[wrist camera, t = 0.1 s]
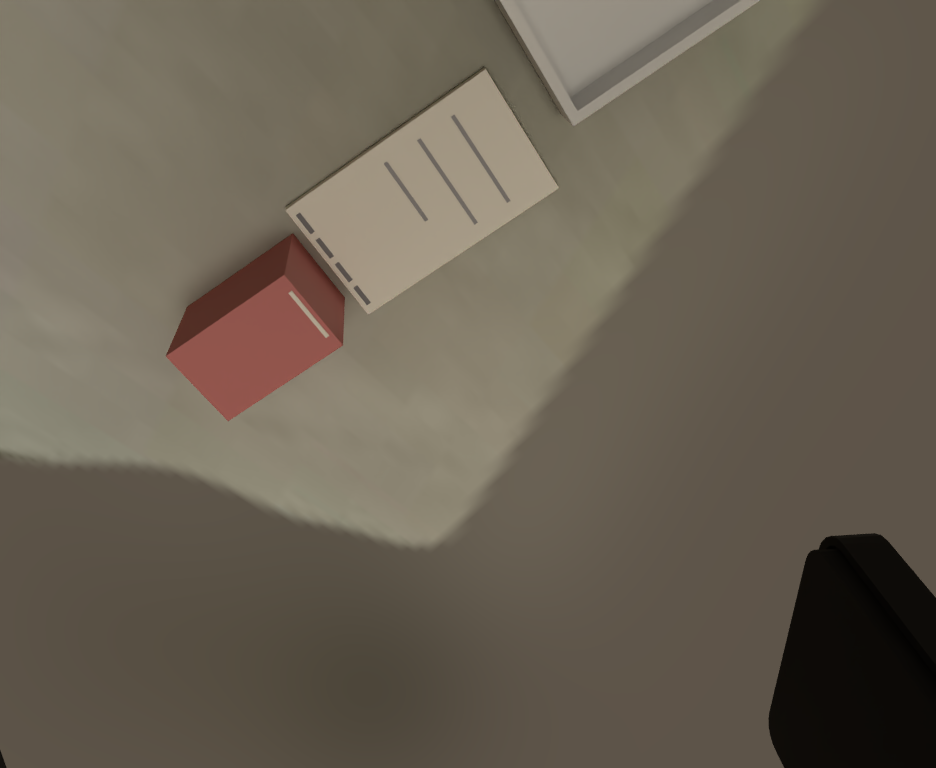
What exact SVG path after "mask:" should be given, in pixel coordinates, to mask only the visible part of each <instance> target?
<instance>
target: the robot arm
mask: <svg viewBox="0 0 936 768" xmlns="http://www.w3.org/2000/svg"><path fill="white" fill-rule="evenodd" d="M769 730H770V736H771V739H772V743H773V745H774V748H775V750H776V752H777V754H778V756H779V758H780V760H781V762H782V764H783V766H784V768H936V598H935V596H934V595H933V594H932V593H931V592H930V591H929V589H928V588H927V587H926V586H925V585H924V583H923V582H922V581H921V580H920V579H919V577H918V576H917V575H916V574H915V573H914V571H913V570H912V569H911V568H910V567H909V566H908V564H907V563H906V562H905V561H904V560H903V558H902V557H901V556H900V555H899V554H898V553H897V551H896V550H895V549H894V548H893V547H892V545H891V544H890V543H889V542H888V541H887V540H886V539H885V538H884V537H883V536H881V535H878V534H875V533H874V534H857V535H843V536H830V537H826V538H825V539H824V540H823V541H822V542H821V545H820V547H819V550H813V551H811V552H810V553H809V554H808V556H807V558H806V561H805V565H804V570H803V574H802V578H801V582H800V586H799V590H798V595H797V599H796V603H795V607H794V611H793V616H792V620H791V624H790V628H789V632H788V637H787V641H786V645H785V649H784V653H783V658H782V662H781V666H780V670H779V674H778V679H777V683H776V687H775V691H774V695H773V700H772V704H771V708H770V712H769ZM0 768H6V765H5V763H4V759H3V757H2V754H1V751H0Z"/></svg>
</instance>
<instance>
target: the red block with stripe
mask: <svg viewBox="0 0 936 768" xmlns="http://www.w3.org/2000/svg"><path fill="white" fill-rule="evenodd" d="M344 303H345V297H344V296H343V295H342V294H341V293H340V291H339V290H338V289H337V288H336V286H335V285H334V284H333V283H332V281H331V280H330V279H329V278H328V276H327V275H326V274H325V273H324V271H323V270H322V269H321V268H320V266H319V265H318V264H317V263H316V261H315V260H314V259H313V258H312V256H311V255H310V254H309V253H308V251H307V250H306V249H305V248H304V246H303V245H302V244H301V243H300V242H299V240H298V239H297V238H296V237H295V235H294V234H291V235H290V236H288V237H287V238H285V239H284V240H282V241H281V242H280V243H278V244H277V245H275V246H274V247H272V248H271V249H270V250H268V251H267V252H265V253H264V254H262V255H261V256H260V257H258V258H257V259H255V260H254V261H252V262H251V263H249V264H248V265H247V266H245V267H244V268H242V269H241V270H239V271H238V272H237V273H235V274H234V275H232V276H231V277H229V278H228V279H226V280H225V281H224V282H222V283H221V284H219V285H218V286H216V287H215V288H214V289H212V290H211V291H209V292H208V293H206V294H205V295H204V296H202V297H201V298H199V299H198V300H196V301H195V302H193V303H192V304H191V305H189V306H188V307H187V309H186V311H185V313H184V315H183V318H182V320H181V322H180V325H179V327H178V329H177V332H176V334H175V336H174V339H173V341H172V343H171V345H170V348H169V350H168V352H167V355H166V357H167V358H168V359H169V360H170V361H171V362H172V363H173V364H174V365H175V366H176V367H177V368H178V370H179V371H180V372H181V373H182V374H183V375H184V376H185V377H186V378H187V379H188V380H189V381H190V382H191V383H192V384H193V385H194V386H195V387H196V388H197V389H198V390H199V391H200V392H201V393H202V395H203V396H204V397H205V398H206V399H207V400H208V401H209V402H210V403H211V404H212V405H213V406H214V407H215V408H216V409H217V410H218V411H219V412H220V413H221V414H222V415H223V416H224V417H225V418H226V420H227V421H229V420H230V419H232V418H233V417H235V416H237V415H238V414H240V413H241V412H243V411H244V410H246V409H247V408H249V407H250V406H252V405H253V404H255V403H256V402H258V401H259V400H261V399H262V398H264V397H265V396H267V395H268V394H270V393H271V392H273V391H274V390H276V389H277V388H279V387H280V386H282V385H284V384H285V383H287V382H288V381H290V380H291V379H293V378H294V377H296V376H297V375H299V374H300V373H302V372H303V371H305V370H306V369H308V368H309V367H311V366H312V365H314V364H315V363H317V362H318V361H320V360H321V359H323V358H324V357H326V356H327V355H329V354H331V353H332V352H334V351H335V350H337V349H338V348H340V347H341V346H343V329H344Z"/></svg>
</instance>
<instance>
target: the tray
mask: <svg viewBox="0 0 936 768" xmlns="http://www.w3.org/2000/svg"><path fill="white" fill-rule="evenodd" d="M494 1H495V2H496V4H497V6H498V7H499V9H500V11H501V13H502V14H503V16H504V18H505V19H506V21H507V23H508V24H509V26H510V28H511V30H512V31H513V33H514V35H515V36H516V38H517V40H518V41H519V43H520V45H521V47H522V48H523V50H524V52H525V53H526V55H527V57H528V59H529V60H530V62H531V64H532V65H533V67H534V69H535V70H536V72H537V74H538V76H539V77H540V79H541V81H542V82H543V84H544V86H545V87H546V89H547V91H548V93H549V94H550V96H551V98H552V99H553V101H554V103H555V105H556V106H557V108H558V110H559V111H560V113H561V114H562V115H563V116H564V117H565V118H566V119H567V120H568V121H569V122H570V123H571V124H572V125H573V126H575V125H576V124H578V123H579V122H581V121H582V120H584V119H585V118H587V117H588V116H590V115H591V114H593V113H594V112H596V111H597V110H599V109H600V108H602V107H603V106H605V105H606V104H607V103H609V102H610V101H612V100H613V99H615V98H616V97H618V96H619V95H621V94H622V93H624V92H625V91H627V90H628V89H630V88H631V87H633V86H634V85H636V84H637V83H639V82H640V81H642V80H643V79H644V78H646V77H647V76H649V75H650V74H652V73H653V72H655V71H656V70H658V69H659V68H661V67H662V66H664V65H665V64H667V63H668V62H670V61H671V60H673V59H674V58H676V57H677V56H679V55H680V54H681V53H683V52H684V51H686V50H687V49H689V48H690V47H692V46H693V45H695V44H696V43H698V42H699V41H701V40H702V39H704V38H705V37H707V36H708V35H710V34H711V33H713V32H714V31H716V30H717V29H718V28H720V27H721V26H723V25H724V24H726V23H727V22H729V21H730V20H732V19H733V18H735V17H736V16H738V15H739V14H741V13H742V12H744V11H745V10H747V9H748V8H750V7H751V6H753V5H754V4H755V3H757V2H758V1H760V0H494Z"/></svg>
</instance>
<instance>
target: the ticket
mask: <svg viewBox="0 0 936 768" xmlns="http://www.w3.org/2000/svg"><path fill="white" fill-rule="evenodd" d="M558 188H559V187H558V186H557V184H556V183H555V181H554V179H553V178H552V176H551V174H550V173H549V171H548V170H547V168H546V166H545V165H544V163H543V161H542V160H541V158H540V157H539V155H538V153H537V152H536V150H535V148H534V147H533V145H532V144H531V142H530V140H529V139H528V137H527V135H526V134H525V132H524V131H523V129H522V127H521V126H520V124H519V122H518V121H517V119H516V118H515V116H514V114H513V113H512V111H511V109H510V108H509V106H508V105H507V103H506V101H505V100H504V98H503V96H502V95H501V93H500V92H499V90H498V88H497V87H496V85H495V83H494V82H493V80H492V79H491V77H490V75H489V74H488V72H487V70H486V69H485V68H482V69H481V70H480V71H478V72H477V73H475V74H474V75H472V76H471V77H470V78H468V79H467V80H465V81H464V82H463V83H461V84H460V85H458V86H457V87H455V88H454V89H453V90H451V91H450V92H448V93H447V94H445V95H444V96H443V97H441V98H440V99H438V100H437V101H436V102H434V103H433V104H431V105H430V106H428V107H427V108H426V109H424V110H423V111H421V112H420V113H418V114H417V115H416V116H414V117H413V118H411V119H410V120H409V121H407V122H406V123H404V124H403V125H401V126H400V127H399V128H397V129H396V130H394V131H393V132H392V133H390V134H389V135H387V136H386V137H384V138H383V139H382V140H380V141H379V142H377V143H376V144H374V145H373V146H372V147H370V148H369V149H367V150H366V151H365V152H363V153H362V154H360V155H359V156H357V157H356V158H355V159H353V160H352V161H350V162H349V163H348V164H346V165H345V166H343V167H342V168H340V169H339V170H338V171H336V172H335V173H333V174H332V175H330V176H329V177H328V178H326V179H325V180H323V181H322V182H321V183H319V184H318V185H316V186H315V187H313V188H312V189H311V190H309V191H308V192H306V193H305V194H303V195H302V196H301V197H299V198H298V199H296V200H295V201H294V202H292V203H291V204H289V205H288V206H286V209H285V211H286V212H287V213H288V215H289V216H290V217H291V218H292V220H293V221H294V222H295V223H296V225H297V226H298V227H299V228H300V230H301V231H302V232H303V233H304V235H305V236H306V237H307V238H308V240H309V241H310V242H311V243H312V245H313V246H314V247H315V248H316V250H317V251H318V252H319V253H320V255H321V256H322V257H323V258H324V260H325V261H326V262H327V263H328V265H329V266H330V267H331V268H332V270H333V271H334V272H335V273H336V275H337V276H338V277H339V279H340V280H341V281H342V282H343V284H344V285H345V286H346V287H347V289H348V290H349V291H350V292H351V294H352V295H353V296H354V297H355V299H356V300H357V301H358V302H359V304H360V305H361V306H362V307H363V309H364V310H365V311H366V312H367V314H368V315H369V314H370V313H372V312H373V311H375V310H376V309H378V308H379V307H381V306H382V305H384V304H385V303H387V302H388V301H390V300H391V299H393V298H394V297H396V296H397V295H399V294H400V293H402V292H403V291H405V290H406V289H408V288H409V287H411V286H412V285H414V284H415V283H417V282H418V281H420V280H421V279H423V278H424V277H426V276H427V275H429V274H430V273H432V272H433V271H435V270H436V269H438V268H439V267H441V266H442V265H444V264H445V263H447V262H448V261H450V260H451V259H453V258H454V257H456V256H457V255H459V254H460V253H462V252H464V251H465V250H467V249H468V248H470V247H471V246H473V245H474V244H476V243H477V242H479V241H480V240H482V239H483V238H485V237H486V236H488V235H489V234H491V233H492V232H494V231H495V230H497V229H498V228H500V227H501V226H503V225H504V224H506V223H507V222H509V221H510V220H512V219H513V218H515V217H516V216H518V215H519V214H521V213H522V212H524V211H525V210H527V209H528V208H530V207H531V206H533V205H534V204H536V203H537V202H539V201H540V200H542V199H543V198H545V197H546V196H548V195H549V194H551V193H552V192H554V191H555V190H557V189H558Z"/></svg>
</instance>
